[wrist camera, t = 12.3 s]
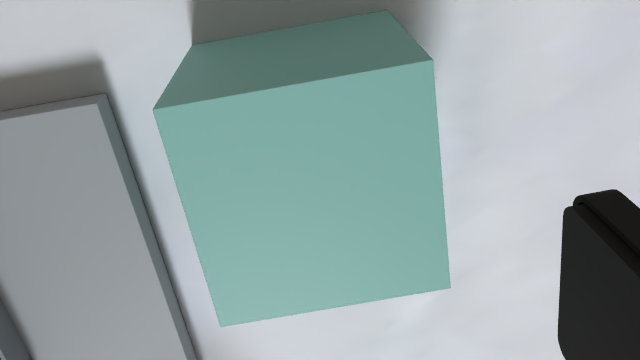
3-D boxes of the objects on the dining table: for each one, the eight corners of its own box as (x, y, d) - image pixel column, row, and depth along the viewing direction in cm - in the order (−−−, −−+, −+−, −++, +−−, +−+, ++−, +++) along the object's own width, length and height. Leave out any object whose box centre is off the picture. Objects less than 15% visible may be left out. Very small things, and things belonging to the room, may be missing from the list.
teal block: (386, 9, 17) (432, 59, 12) (405, 183, 20) (450, 288, 15) (192, 44, 18) (152, 109, 12) (237, 212, 20) (220, 326, 15)
